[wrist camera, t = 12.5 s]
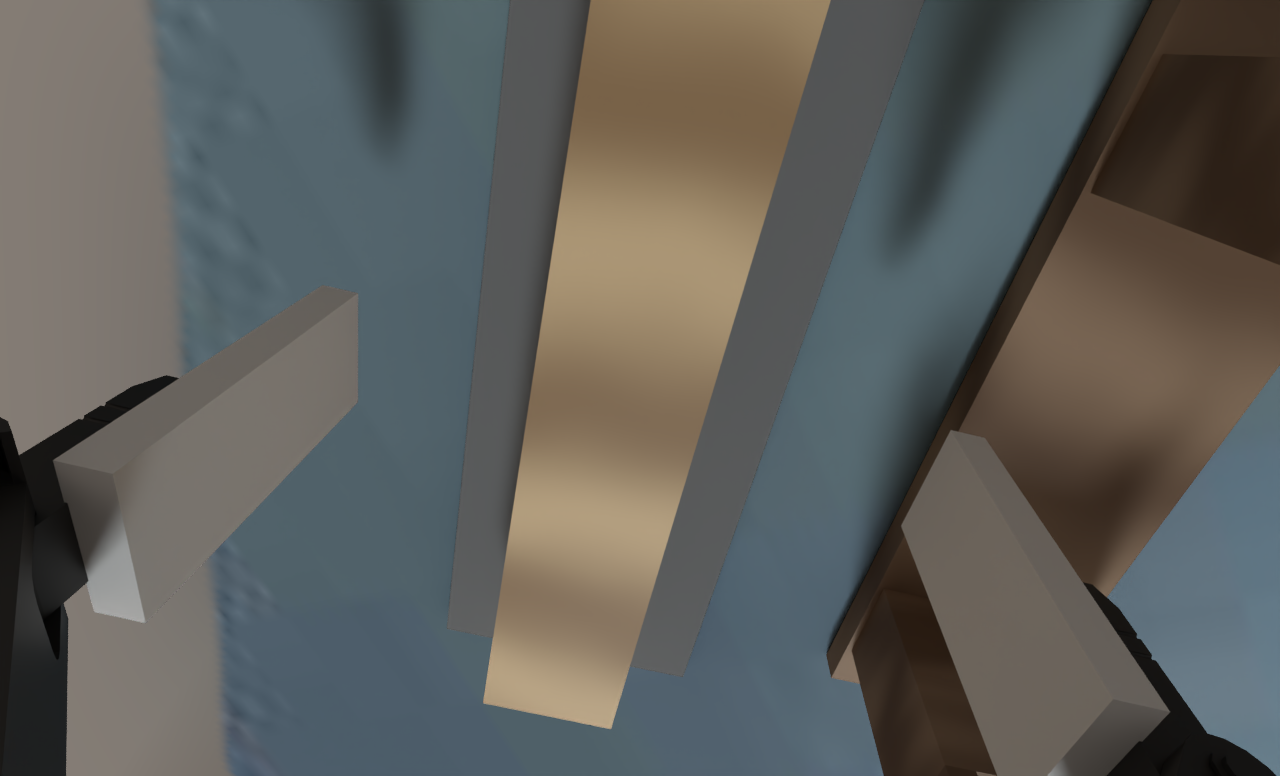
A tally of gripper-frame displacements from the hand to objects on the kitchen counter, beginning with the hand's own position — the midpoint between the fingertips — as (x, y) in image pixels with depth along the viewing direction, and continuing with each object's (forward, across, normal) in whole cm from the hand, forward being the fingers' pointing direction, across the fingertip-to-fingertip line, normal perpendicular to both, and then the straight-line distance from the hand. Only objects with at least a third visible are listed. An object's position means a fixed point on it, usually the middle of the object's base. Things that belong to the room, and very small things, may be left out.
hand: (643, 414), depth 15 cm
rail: (+4, -1, 0) cm, 4 cm away
